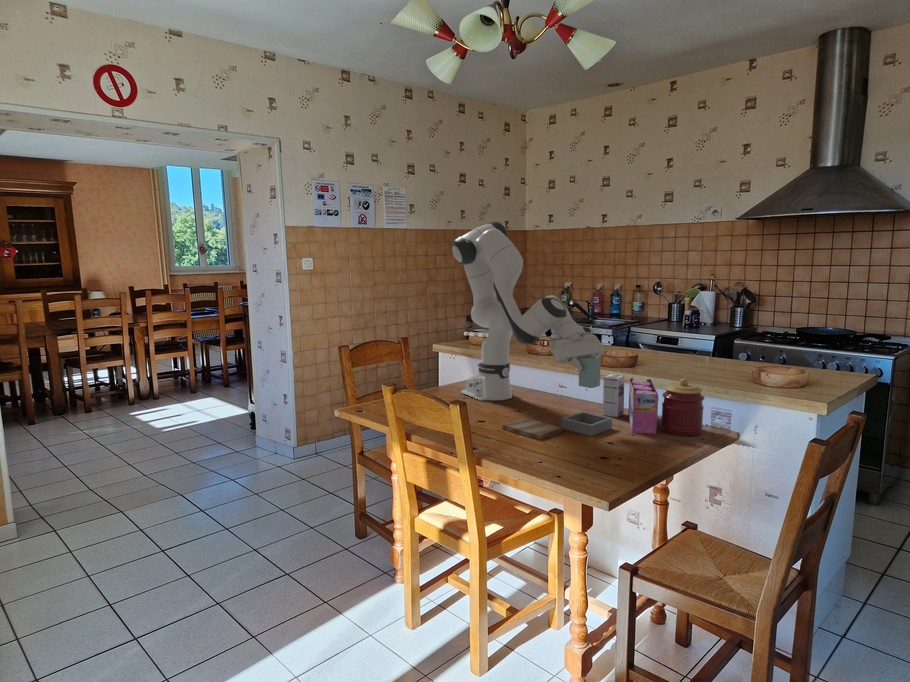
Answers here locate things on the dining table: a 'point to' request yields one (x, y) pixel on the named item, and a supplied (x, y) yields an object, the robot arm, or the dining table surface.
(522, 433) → the walnut board
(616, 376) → the syrup box
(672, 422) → the canister
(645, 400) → the gum box
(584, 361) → the teal block
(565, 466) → the dining table surface
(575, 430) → the parts bin
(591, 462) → the dining table surface
